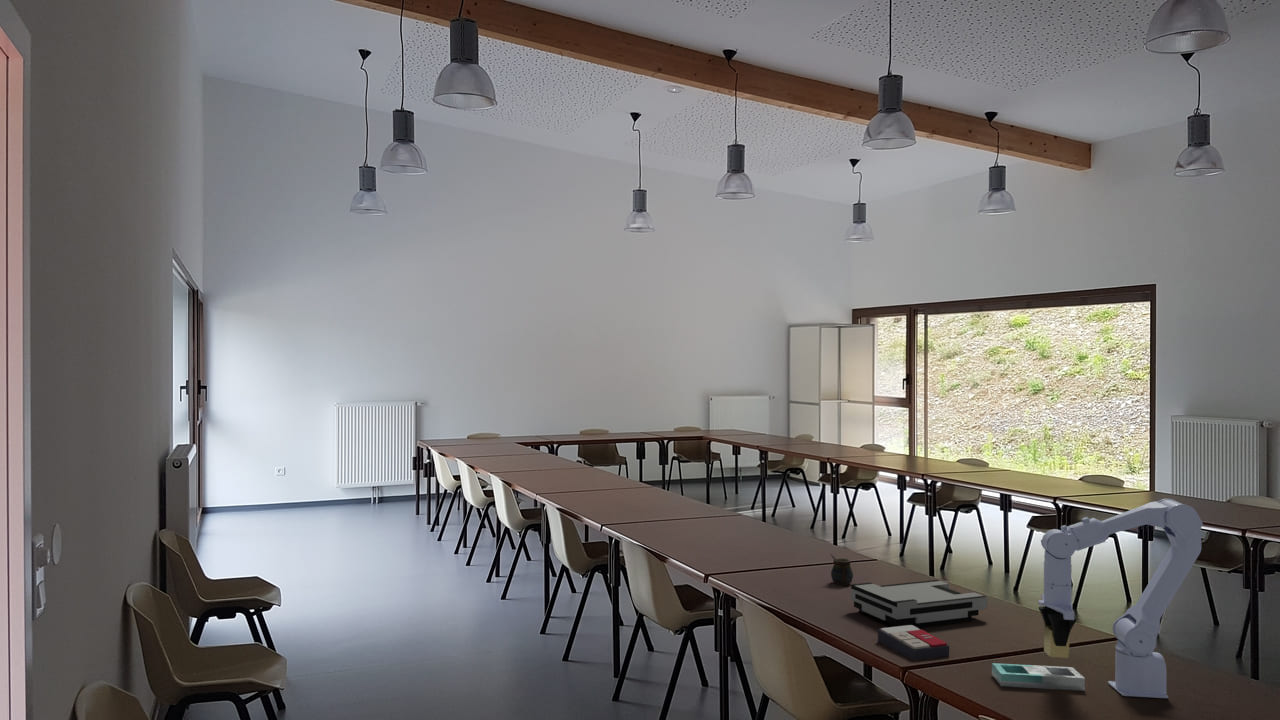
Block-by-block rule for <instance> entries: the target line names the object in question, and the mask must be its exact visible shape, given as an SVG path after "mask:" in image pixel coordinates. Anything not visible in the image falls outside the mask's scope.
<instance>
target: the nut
mask: <svg viewBox="0 0 1280 720" xmlns="http://www.w3.org/2000/svg"><path fill="white" fill-rule="evenodd" d="M1043 633H1044V634H1043V635H1044V637H1043V652H1045V654H1046V655H1048V657H1050V658H1061V659H1062V658H1063V659H1069V658H1070V636H1069V637H1068V641H1067V644H1066V646H1056V645H1055V641H1054V634H1053V627H1052V626H1051V625H1045V624H1044V630H1043Z"/></svg>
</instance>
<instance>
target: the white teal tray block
mask: <svg viewBox="0 0 1280 720" xmlns="http://www.w3.org/2000/svg"><path fill="white" fill-rule="evenodd" d="M991 676H992V677H993V678H994V679H995V680H996V682H997V683H998V684H999V685H1000V687H1008V688H1009V687H1011V688H1026V689H1027V688H1028V689H1031V688H1032V689H1046V690H1047V689H1048V690H1065V691H1081V692H1082V691H1083V692H1084V691H1086V678H1085V677H1084V676H1083V675H1082V674H1081V673H1080V672H1078V671H1077V670H1076V669H1075V667H1070V666H1058V665H1057V666H1055V665H1054V666H1053V665H1051V666H1050V665H1036V664H1035V665H1034V664H1033V665H1032V664H1013V663H997V662H996V663H991Z"/></svg>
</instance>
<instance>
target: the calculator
mask: <svg viewBox="0 0 1280 720" xmlns="http://www.w3.org/2000/svg"><path fill="white" fill-rule="evenodd" d="M877 630H878V631H877V642H878V643H879V644H881V645H883V646H884V647H887V648H890V649H892V650H893V651H895V652H897V653H898V654H901V655H902V656H904V657H907V658H908V659H910V660H913V661H918V660H926V659H934V658H942V657H950V645H949V644H948V643H947V642H945V641H944V640H942V639H940V638H938V637H937V636H934V635H933V634H931V633H929V632H928V631H925V630H924V629H920V628H917V627H915V626H913V625H907V626H897V627H894V626H890V627H882V628H879V629H877Z"/></svg>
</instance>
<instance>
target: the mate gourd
mask: <svg viewBox="0 0 1280 720" xmlns="http://www.w3.org/2000/svg"><path fill="white" fill-rule="evenodd" d="M829 555H830V556H831V557H832V558H833V566H832V569H831V571H830V576H831V579H832V581H833V582H834V583H835V584H836V585H839V586H847V585H850V584H852V581H853V577H854V572H853V570H852V567H851V559H848V558H844V557H840V558H835V557H834V555H833V554H832V553H829Z"/></svg>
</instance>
